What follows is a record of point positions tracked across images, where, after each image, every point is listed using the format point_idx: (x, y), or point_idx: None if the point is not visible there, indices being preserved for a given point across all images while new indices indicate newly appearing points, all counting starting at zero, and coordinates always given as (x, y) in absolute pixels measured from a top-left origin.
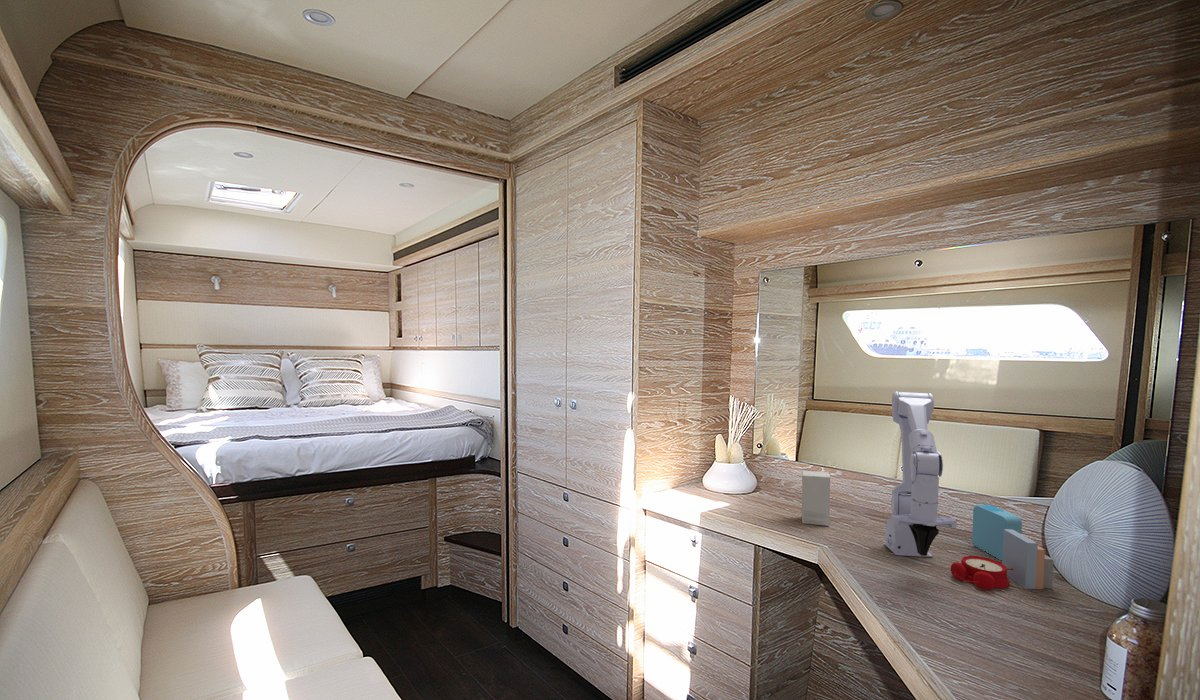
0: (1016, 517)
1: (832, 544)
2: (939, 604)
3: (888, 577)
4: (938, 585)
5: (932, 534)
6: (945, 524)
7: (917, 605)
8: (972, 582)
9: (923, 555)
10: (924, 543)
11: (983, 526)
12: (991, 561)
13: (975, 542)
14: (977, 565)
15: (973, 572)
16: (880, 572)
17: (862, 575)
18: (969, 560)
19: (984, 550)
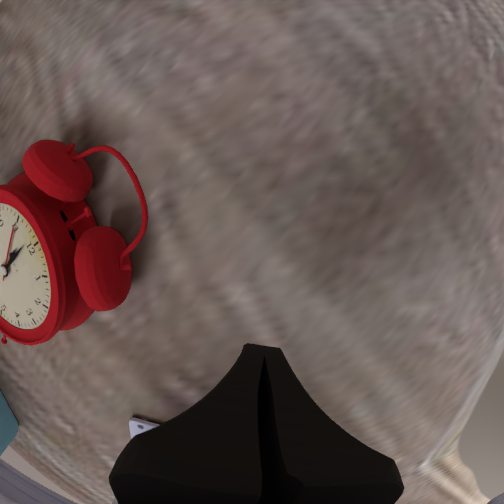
0: None
1: None
2: (371, 32)
3: (429, 278)
4: (256, 192)
5: (209, 444)
6: (18, 491)
7: (452, 49)
8: (111, 147)
9: (267, 346)
10: (278, 393)
11: None
12: None
13: (11, 426)
14: (23, 270)
15: (59, 228)
16: (425, 322)
17: (493, 293)
18: (33, 319)
19: (2, 399)
